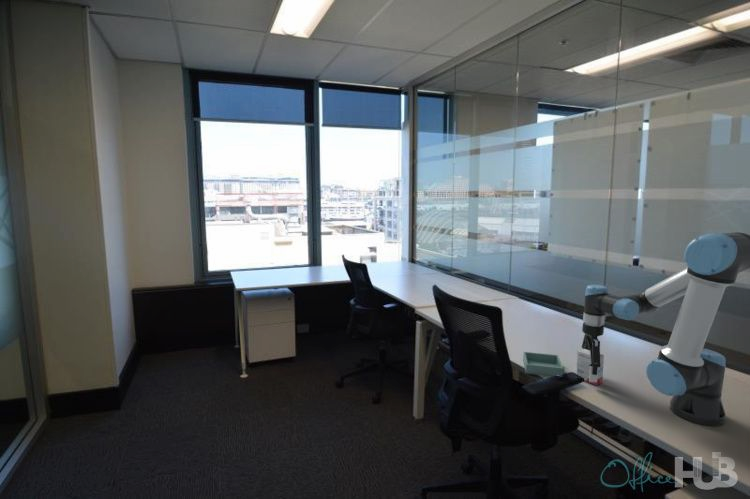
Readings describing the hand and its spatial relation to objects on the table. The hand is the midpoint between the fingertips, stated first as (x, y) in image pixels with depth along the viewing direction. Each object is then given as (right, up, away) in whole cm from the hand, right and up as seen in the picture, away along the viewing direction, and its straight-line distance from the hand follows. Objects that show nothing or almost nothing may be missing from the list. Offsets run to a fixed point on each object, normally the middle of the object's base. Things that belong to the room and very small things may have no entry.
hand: (588, 374), depth 167 cm
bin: (-14, -1, +11) cm, 18 cm away
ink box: (0, -3, 0) cm, 3 cm away
